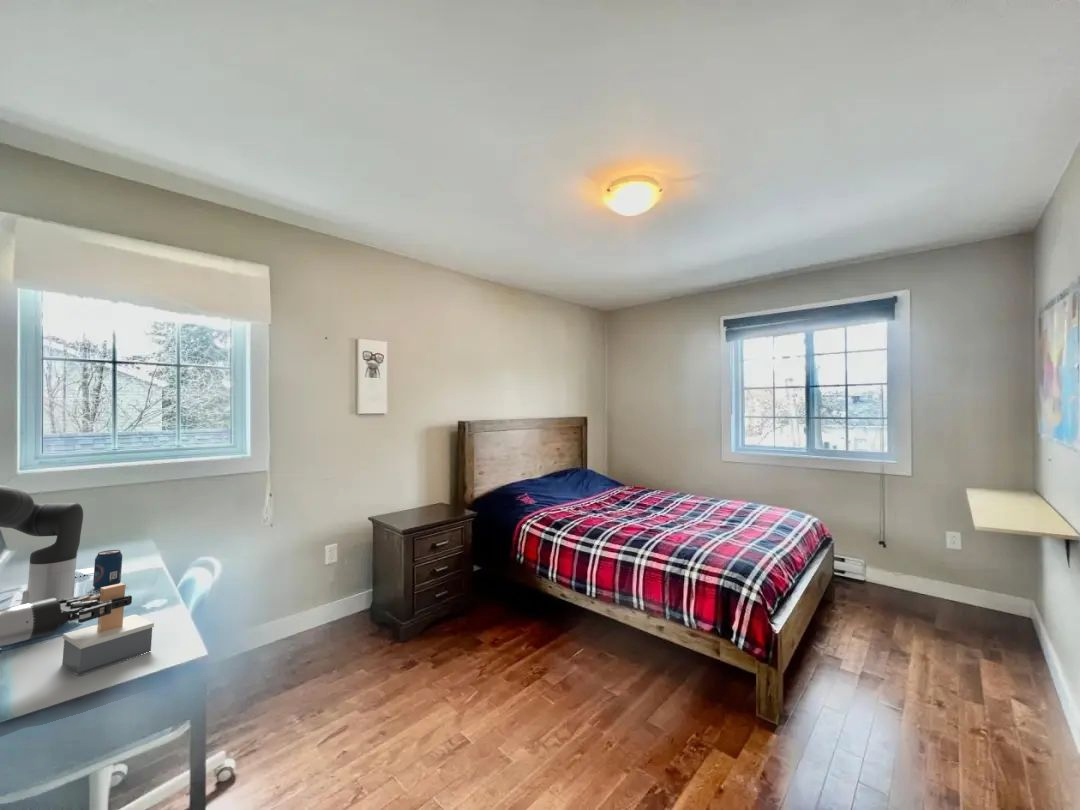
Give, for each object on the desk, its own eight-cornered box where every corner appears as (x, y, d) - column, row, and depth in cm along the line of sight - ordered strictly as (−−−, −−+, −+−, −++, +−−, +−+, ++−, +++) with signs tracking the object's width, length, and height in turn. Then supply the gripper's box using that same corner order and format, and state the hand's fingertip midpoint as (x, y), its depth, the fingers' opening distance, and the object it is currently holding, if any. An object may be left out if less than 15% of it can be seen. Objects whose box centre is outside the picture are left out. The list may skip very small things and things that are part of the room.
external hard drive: (58, 577, 167) (104, 569, 177) (62, 581, 163) (109, 573, 172) (58, 572, 168) (104, 565, 177) (62, 577, 163) (109, 569, 173)
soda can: (88, 588, 155) (90, 553, 155) (113, 582, 161) (115, 548, 162) (99, 591, 152) (102, 555, 153) (124, 585, 158) (127, 550, 159)
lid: (79, 654, 101) (84, 598, 102) (62, 643, 106) (66, 590, 107) (153, 631, 113) (156, 581, 113) (134, 622, 118) (138, 575, 118)
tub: (78, 676, 101) (81, 648, 101) (62, 664, 106) (64, 638, 106) (150, 651, 112) (152, 627, 113) (132, 642, 117) (134, 618, 117)
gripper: (38, 610, 94) (140, 587, 109) (15, 597, 101) (114, 576, 116) (35, 647, 94) (138, 618, 109) (12, 632, 101) (112, 606, 115)
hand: (125, 597), depth 112 cm, fingers open, 5 cm apart
